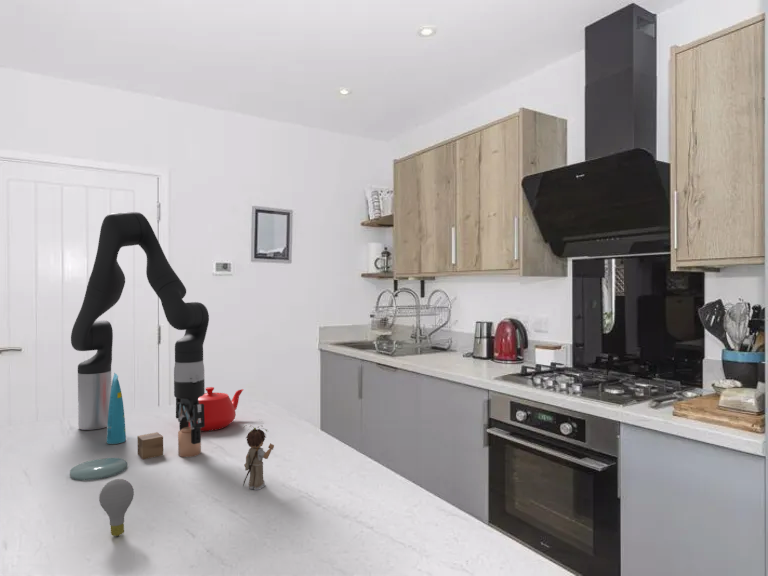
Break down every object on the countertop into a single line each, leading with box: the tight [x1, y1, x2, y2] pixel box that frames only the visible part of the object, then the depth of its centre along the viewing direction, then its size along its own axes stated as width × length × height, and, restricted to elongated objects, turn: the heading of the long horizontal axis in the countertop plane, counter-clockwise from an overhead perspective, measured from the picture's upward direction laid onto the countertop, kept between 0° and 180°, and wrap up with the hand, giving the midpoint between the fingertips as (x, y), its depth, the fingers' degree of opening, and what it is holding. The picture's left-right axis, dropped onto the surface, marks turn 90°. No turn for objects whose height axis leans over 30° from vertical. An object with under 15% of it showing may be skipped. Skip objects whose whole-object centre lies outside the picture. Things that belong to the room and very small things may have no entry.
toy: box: [242, 419, 275, 491], centre depth 113 cm, size 6×6×15 cm
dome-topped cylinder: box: [177, 427, 202, 458], centre depth 135 cm, size 6×6×7 cm
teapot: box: [189, 386, 244, 432], centre depth 162 cm, size 25×16×12 cm, turn 145°
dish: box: [69, 457, 128, 481], centre depth 123 cm, size 12×12×1 cm
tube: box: [106, 372, 127, 445], centre depth 146 cm, size 7×5×19 cm, turn 39°
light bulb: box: [98, 478, 135, 538], centre depth 91 cm, size 6×5×10 cm
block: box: [137, 431, 164, 460], centre depth 134 cm, size 5×5×5 cm
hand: (189, 439), depth 135 cm, fingers open, 8 cm apart
